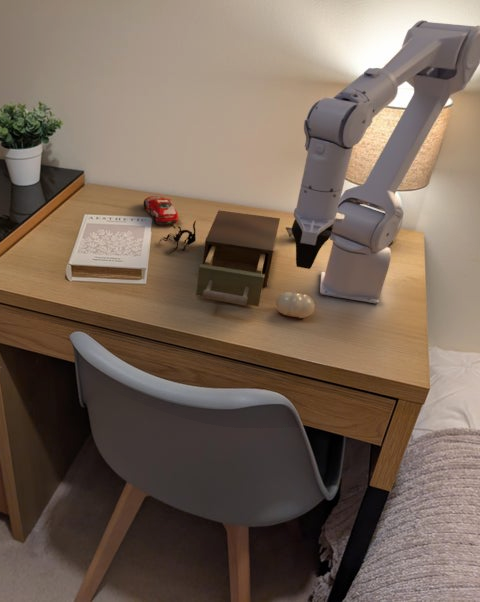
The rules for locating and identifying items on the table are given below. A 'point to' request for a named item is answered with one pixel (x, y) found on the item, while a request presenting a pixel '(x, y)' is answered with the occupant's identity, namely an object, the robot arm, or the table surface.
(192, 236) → the creature
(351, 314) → the table surface
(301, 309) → the egg
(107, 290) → the table surface
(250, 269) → the drawer
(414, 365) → the table surface
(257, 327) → the table surface
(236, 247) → the cabinet
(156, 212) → the race car
